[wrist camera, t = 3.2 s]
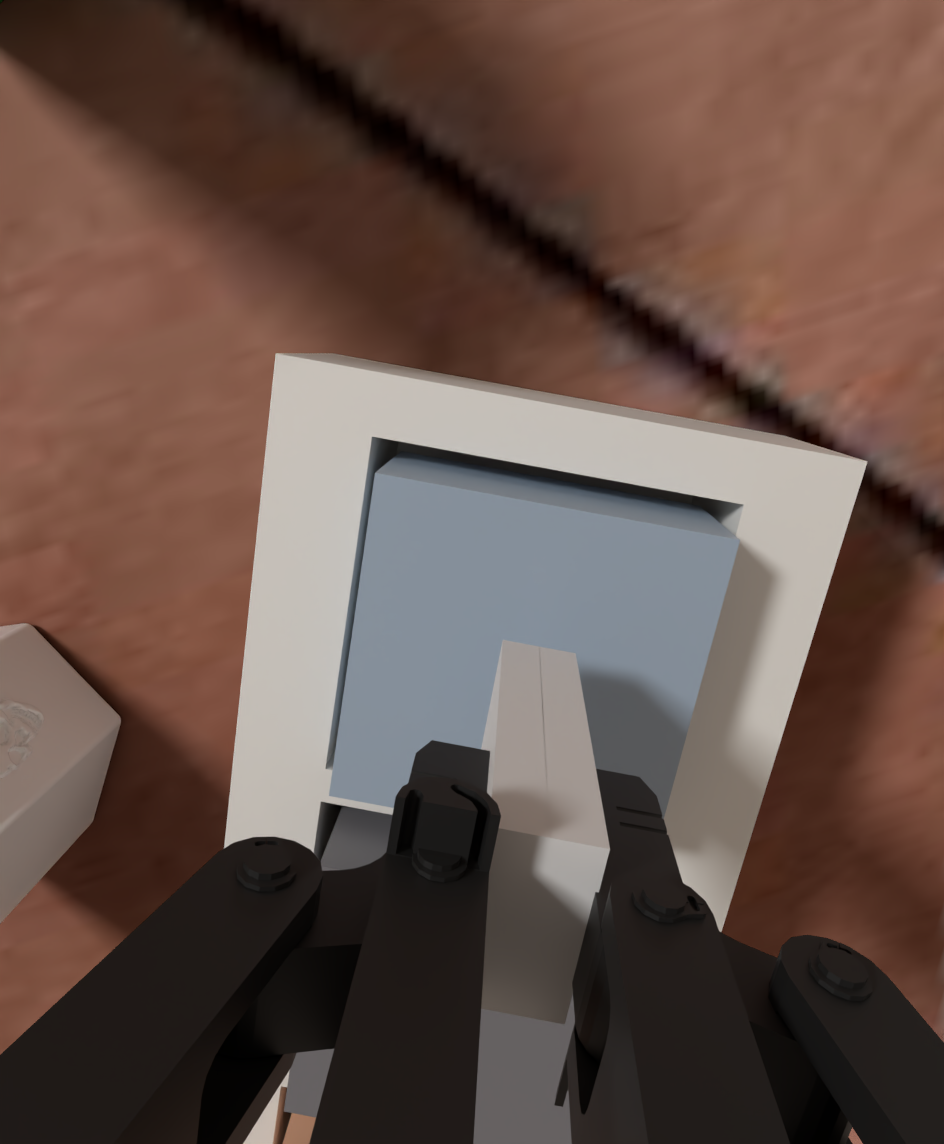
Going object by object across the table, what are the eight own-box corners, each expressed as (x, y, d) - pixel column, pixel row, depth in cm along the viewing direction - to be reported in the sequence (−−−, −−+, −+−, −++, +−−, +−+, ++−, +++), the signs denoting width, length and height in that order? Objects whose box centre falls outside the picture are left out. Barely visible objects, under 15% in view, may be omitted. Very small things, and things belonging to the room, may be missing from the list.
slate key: (631, 773, 23) (653, 856, 19) (360, 722, 23) (328, 796, 19) (699, 505, 21) (740, 539, 17) (401, 450, 21) (375, 472, 17)
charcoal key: (561, 1044, 26) (568, 1165, 22) (318, 999, 26) (283, 1111, 22) (615, 832, 24) (634, 925, 20) (351, 782, 24) (318, 866, 20)
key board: (568, 1207, 33) (579, 1389, 27) (235, 1144, 33) (175, 1311, 27) (784, 435, 24) (867, 461, 19) (333, 353, 24) (276, 353, 19)
